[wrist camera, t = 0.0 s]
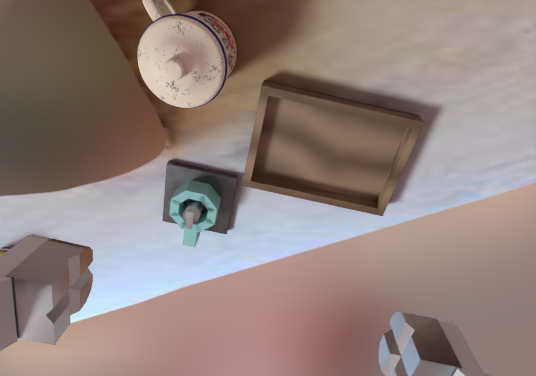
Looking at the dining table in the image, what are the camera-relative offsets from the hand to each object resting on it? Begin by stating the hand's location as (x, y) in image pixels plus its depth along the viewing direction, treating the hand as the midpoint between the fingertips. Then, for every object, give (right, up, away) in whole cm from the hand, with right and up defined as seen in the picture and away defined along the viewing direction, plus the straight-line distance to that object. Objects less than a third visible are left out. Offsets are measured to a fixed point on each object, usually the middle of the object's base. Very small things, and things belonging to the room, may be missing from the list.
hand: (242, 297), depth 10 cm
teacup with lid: (-8, +21, +34) cm, 41 cm away
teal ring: (-10, 0, +45) cm, 46 cm away
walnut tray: (+9, +8, +39) cm, 41 cm away
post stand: (-10, +2, +45) cm, 46 cm away
